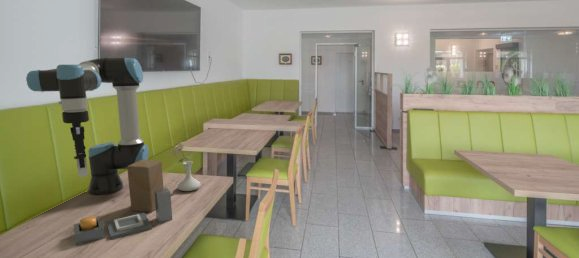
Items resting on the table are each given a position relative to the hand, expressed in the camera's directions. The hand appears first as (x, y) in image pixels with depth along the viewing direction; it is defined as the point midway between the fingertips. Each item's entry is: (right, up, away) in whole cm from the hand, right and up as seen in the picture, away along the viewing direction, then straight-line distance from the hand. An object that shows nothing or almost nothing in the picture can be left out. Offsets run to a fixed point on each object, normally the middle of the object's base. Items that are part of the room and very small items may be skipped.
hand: (82, 171), depth 117 cm
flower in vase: (+22, -16, +50) cm, 57 cm away
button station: (0, -24, +5) cm, 24 cm away
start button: (0, -21, +4) cm, 21 cm away
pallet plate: (+11, -23, +12) cm, 28 cm away
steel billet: (+22, -21, +18) cm, 36 cm away
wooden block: (+11, -19, +29) cm, 37 cm away
